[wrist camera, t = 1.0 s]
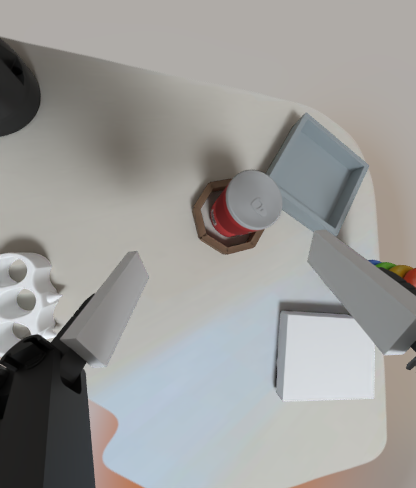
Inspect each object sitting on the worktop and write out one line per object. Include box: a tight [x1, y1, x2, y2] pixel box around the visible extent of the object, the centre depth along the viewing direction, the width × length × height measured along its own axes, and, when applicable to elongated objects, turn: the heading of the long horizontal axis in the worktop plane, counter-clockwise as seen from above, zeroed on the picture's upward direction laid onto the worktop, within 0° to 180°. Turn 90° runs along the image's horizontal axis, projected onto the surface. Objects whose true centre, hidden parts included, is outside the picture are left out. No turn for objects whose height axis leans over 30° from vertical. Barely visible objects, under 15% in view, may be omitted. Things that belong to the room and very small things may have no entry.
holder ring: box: [192, 178, 264, 254], centre depth 30 cm, size 13×13×2 cm
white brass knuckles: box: [0, 252, 63, 357], centre depth 22 cm, size 3×18×15 cm
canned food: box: [210, 170, 282, 237], centre depth 26 cm, size 8×8×11 cm
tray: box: [266, 113, 369, 236], centre depth 33 cm, size 18×18×4 cm
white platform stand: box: [276, 311, 375, 402], centre depth 32 cm, size 15×3×20 cm
